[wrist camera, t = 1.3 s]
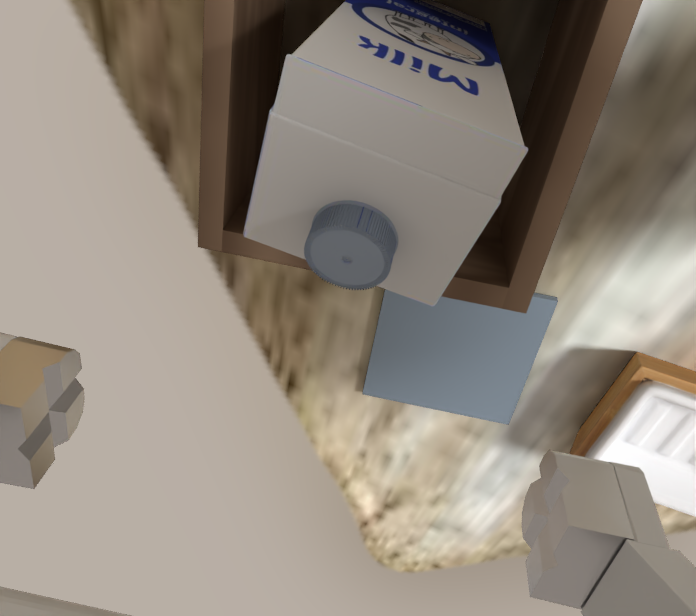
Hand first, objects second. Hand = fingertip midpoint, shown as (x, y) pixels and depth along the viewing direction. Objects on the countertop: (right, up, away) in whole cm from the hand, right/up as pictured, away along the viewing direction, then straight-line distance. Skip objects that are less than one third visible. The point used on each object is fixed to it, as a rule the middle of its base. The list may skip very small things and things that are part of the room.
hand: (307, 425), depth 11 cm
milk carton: (+4, +16, +24) cm, 29 cm away
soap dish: (+24, -5, +35) cm, 43 cm away
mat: (+8, -1, +34) cm, 35 cm away
